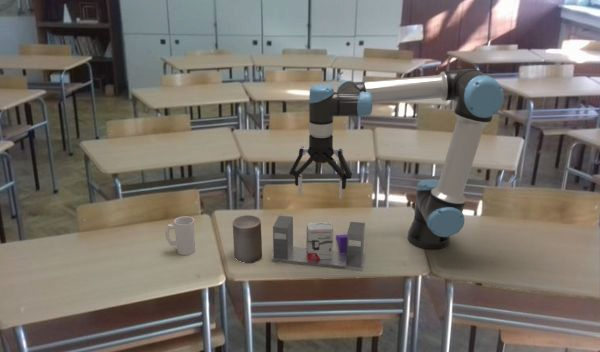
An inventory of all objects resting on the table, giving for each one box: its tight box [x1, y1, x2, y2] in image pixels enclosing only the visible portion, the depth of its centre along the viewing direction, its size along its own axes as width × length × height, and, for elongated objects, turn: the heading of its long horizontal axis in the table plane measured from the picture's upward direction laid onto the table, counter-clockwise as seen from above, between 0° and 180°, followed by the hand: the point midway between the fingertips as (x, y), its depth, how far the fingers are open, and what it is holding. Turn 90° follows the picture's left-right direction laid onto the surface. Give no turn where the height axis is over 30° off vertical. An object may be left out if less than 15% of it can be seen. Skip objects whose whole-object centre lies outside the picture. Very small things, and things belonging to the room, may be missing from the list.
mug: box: [165, 215, 196, 256], centre depth 201 cm, size 10×7×12 cm, turn 101°
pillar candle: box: [231, 215, 263, 264], centre depth 197 cm, size 10×10×15 cm
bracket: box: [336, 234, 347, 252], centre depth 206 cm, size 12×7×7 cm, turn 3°
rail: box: [271, 215, 366, 272], centre depth 196 cm, size 31×10×13 cm, turn 79°
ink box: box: [306, 221, 334, 260], centre depth 195 cm, size 9×5×12 cm, turn 94°
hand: (320, 195), depth 189 cm, fingers open, 13 cm apart
